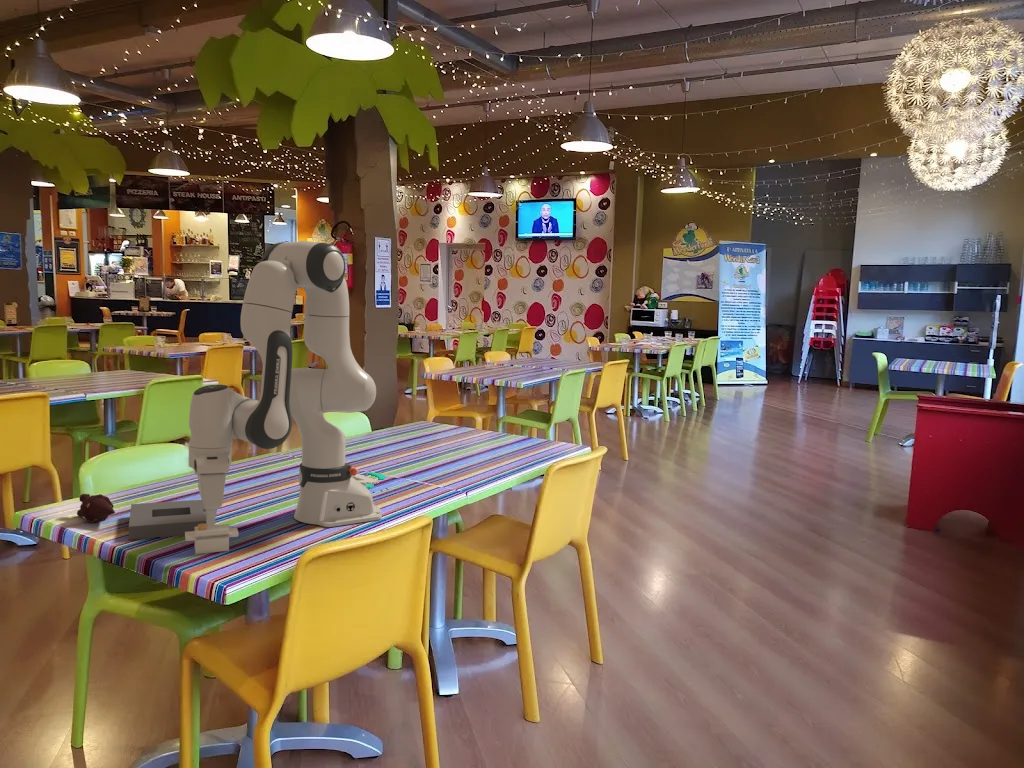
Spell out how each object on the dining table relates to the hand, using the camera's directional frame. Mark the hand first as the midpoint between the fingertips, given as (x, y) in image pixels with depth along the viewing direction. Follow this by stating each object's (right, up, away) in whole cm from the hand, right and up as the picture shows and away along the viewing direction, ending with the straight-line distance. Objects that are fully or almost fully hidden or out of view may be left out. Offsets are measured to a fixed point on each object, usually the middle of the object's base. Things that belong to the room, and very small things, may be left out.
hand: (208, 518), depth 166 cm
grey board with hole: (-16, -4, +16) cm, 23 cm away
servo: (0, -7, +2) cm, 7 cm away
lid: (+18, -1, +64) cm, 67 cm away
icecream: (-34, -4, +16) cm, 37 cm away
